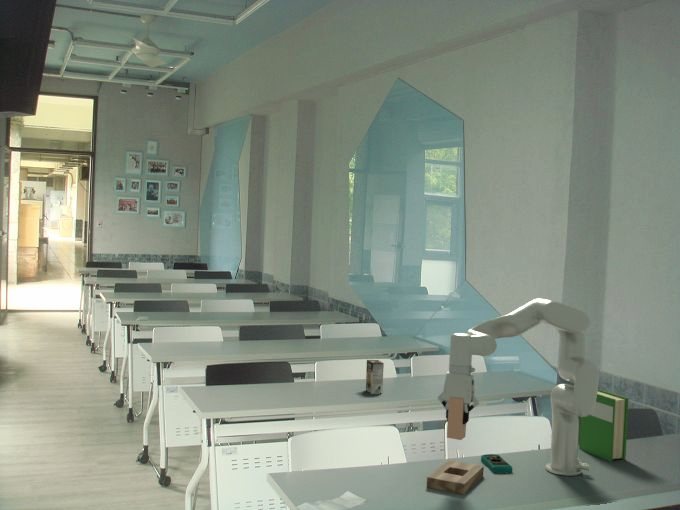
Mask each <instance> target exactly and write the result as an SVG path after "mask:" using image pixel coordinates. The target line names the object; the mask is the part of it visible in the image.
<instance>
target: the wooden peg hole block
mask: <svg viewBox="0 0 680 510" xmlns="http://www.w3.org/2000/svg"><path fill="white" fill-rule="evenodd" d="M484 467H485V466H484V465H479V464H474V463H469V462H462V461H456V460H452V459H448V460H447V461H445V462H444V463H443V464H442V465H440V466H439V467H437V468H436V469H435V470H434V471H432V473H430V474H429V475H428V476H427V477H426V488H428V489H434V490H439V491H444V492H449V493H453V494H459V495H463V496H464V495H465V494H466V493H467V492H468V491H469V490H471V488H472V487H474V486H475V485H476V484H477V483H478V482H479V481H480V480H481V479H482V478H483V477H484V470H485V469H484Z"/></svg>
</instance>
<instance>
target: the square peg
mask: <svg viewBox="0 0 680 510" xmlns="http://www.w3.org/2000/svg"><path fill="white" fill-rule="evenodd" d="M464 411H465V410H464V403H463V399H460V398H453V397H449V407H448V422H447V425H446V426H447V427H446V428H447V430H446V431H447V432H446V438H447V439H451V440H452V439H453V440H459V441H461V440H463V439H464V438H465V437H466V432H467V423H466V424H463V413H464Z"/></svg>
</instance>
